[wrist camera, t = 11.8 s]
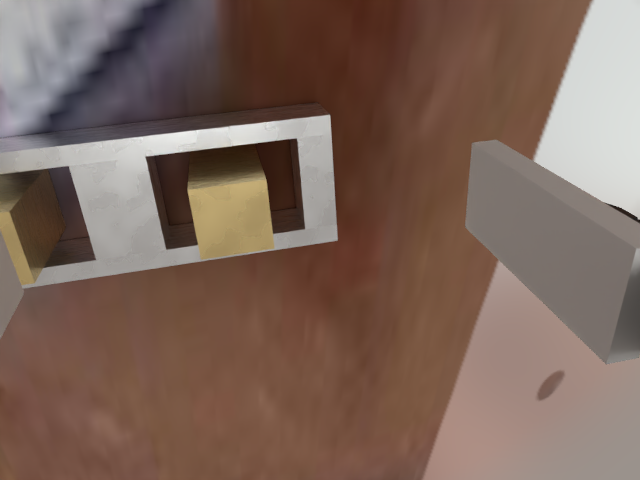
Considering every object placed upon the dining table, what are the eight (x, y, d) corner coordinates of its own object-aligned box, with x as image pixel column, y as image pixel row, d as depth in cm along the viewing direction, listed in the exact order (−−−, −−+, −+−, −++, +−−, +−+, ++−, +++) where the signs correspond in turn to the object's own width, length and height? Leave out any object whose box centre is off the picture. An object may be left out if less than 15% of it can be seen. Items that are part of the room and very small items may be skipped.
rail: (-120, 151, 33) (-158, 171, 30) (318, 102, 37) (330, 114, 34) (-64, 275, 37) (-92, 305, 34) (325, 218, 41) (337, 240, 38)
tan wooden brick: (-25, 175, 35) (-82, 223, 28) (47, 166, 36) (9, 211, 29) (-2, 236, 37) (-50, 296, 30) (66, 227, 38) (34, 283, 31)
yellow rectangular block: (190, 150, 37) (187, 190, 30) (254, 143, 38) (266, 179, 31) (200, 210, 39) (200, 259, 32) (261, 201, 40) (274, 248, 33)
